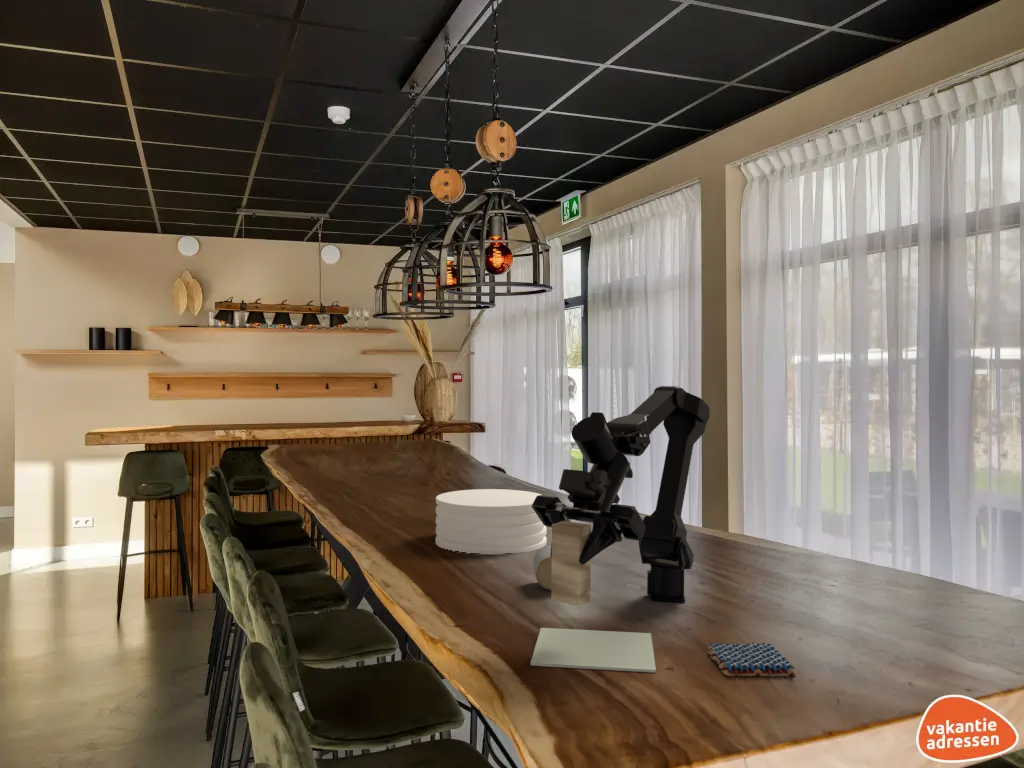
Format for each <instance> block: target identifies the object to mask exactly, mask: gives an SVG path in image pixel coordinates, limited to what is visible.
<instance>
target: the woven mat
mask: <svg viewBox="0 0 1024 768" xmlns="http://www.w3.org/2000/svg"><path fill="white" fill-rule="evenodd" d="M707 648H708V650H709V651H706V652H707V653H706V654H709V655H710V658H711V659H712V660H713V661H714V662H716V663H717V665H718V667H719V669H720V670H721V673H723V675H725V676H728V677H729V676H732V677H734V676H735V677H738V676H740V677H741V676H742V677H745V676H747V677H753V676H754V677H755V676H757V677H759V676H760V677H765V676H766V677H767V676H768V677H774V676H775V677H777V676H778V677H779V676H780V677H781V676H782V677H784V676H785V677H787V676H789V677H793V676H796V675H797V672H796V671H795V670H794V669H795V666H794V665H793V662H790V661H788V660H789V659H788V658H786V656H785V655H783V654H782V651H780V650H778V648H777V647H775V645H772V644H771V643H767V644H766V643H765V642H761V643H756V644H755V642H751V643H746V644H745V643H744V642H741V643H736V644H734V642H731V643H726V644H725V643H724V642H720V643H715V644H714V643H713V642H710V646H708V647H707Z"/></svg>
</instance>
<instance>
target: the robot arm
mask: <svg viewBox="0 0 1024 768" xmlns="http://www.w3.org/2000/svg"><path fill="white" fill-rule="evenodd" d="M710 415H711V413H710V407H709V405H708V404H707V403H706V401H704V399H702V398H701V397H699V396H697V395H694V394H692V393H689V392H687V391H686V390H685V389H683V388H682V387H680V386H678V385H677V386H676V385H675V386H674V385H673V386H672V385H670V386H669V385H660V386H658V387H655V388H654V391H653V393H652V394H651V395H650V396H649V397H648V398H647V399H645V401H643V402H642V403H641V404H640V405H639V406H638V407H636V408H635V409H634V410H633V411H632V412H631V413H629V414H627V415H622V416H619V417H615V418H614V419H611V420H609V421H608V422H607V419H606V417H605V415H604V413H603V412H598V411H596V412H595V411H594V412H593V411H592V412H591V414H590V416H587V417H585V418H583V419H581V420H580V421H578V422H577V423H575V424H574V425H573V427H572V429H571V437H572V439H573V441H574V442H575V444H576V446H577V447H578V450H579V451H580V453H581V455H582V456H583V458H584V460H585V461H586V462H587V463H589V464H592V466H591V468H590V470H589V471H585V470H578V469H569V468H567V469H566V468H564V469H563V470H562V474H561V478H560V482H559V485H558V489H559V490H560V491H564V492H565V493H567V494H568V496H567V500H568V501H569V502H570V503H572V506H570V505H566V504H565V503H563V501H561V499H560V498H559V496H556V495H555V496H552V495H546V494H542V495H539V496H537V497H536V498H535V500H534V502H533V504H532V506H531V507H532V508H533V510H534V511H535V513H536V514H537V516H538V517H539V519H540V520H541V522H542V523H543V524H544V525H545V526H546V528H552V524H555V523H559V522H562V521H568V522H572V520H574V521H577V522H582V523H588V524H592V528H591V534H590V536H589V538H588V540H587V542H586V544H585V546H584V549H583V551H582V553H581V556H580V559H579V562H580V563H581V564H582V565H584V564H585V563H587V562H588V561H589V560H590V559H591V560H592V559H593V558H595V557H596V556H597V555H599V553H601V552H602V551H604V550H606V549H607V548H609V547H610V546H612V545H614V544H615V543H621V542H622V541H623V537H624V539H625V540H630V541H631V540H632V541H637V542H638V548H639V553H640V558H641V563H642V564H647V565H649V568H650V569H647V571H646V593H647V596H649V599H650V601H656V602H659V601H661V602H662V601H663V602H677V603H678V602H679V603H680V602H681V603H684V602H686V596H685V570H691V569H692V567H693V563H694V558H695V555H694V553H693V550H692V549H691V546H690V545H689V543H688V541H687V535H688V531H687V528H686V526H685V523H684V521H683V517H682V513H683V506H684V500H685V494H686V489H687V483H688V477H689V472H690V466H691V461H692V455H693V449H694V445H695V443H696V442H698V440H699V439H700V438H701V437H702V436H703V434H704V433H705V430H706V426H707V422H708V421H709V419H710ZM662 422H663V423H662ZM661 423H662V424H663V427H664V429H665V432H666V435H667V437H668V442H667V448H666V452H665V458H664V463H663V470H662V474H661V478H660V483H659V491H658V495H657V500H656V505H655V506H656V507H655V510H654V511H653V512H652V513H651V514H650V515H645V516H644V518H643V519H642V517H641V516H640V514H639V512H638V510H637V507H636V506H634V505H627V504H626V505H625V504H619V502H620V500H621V498H620V496H619V494H618V493H619V491H620V489H621V486H622V485H623V482H624V480H625V478H626V479H632V478H633V477H634V472H633V470H632V468H631V462H629V460H628V458H627V456H633V457H641V456H642V455H643V454H644V453H645V451H646V450H647V448H648V447H649V445H650V444H651V438H650V435H651V434H652V432H653V431H654V430H655V429H656V428H657V427H659V425H660V424H661ZM622 535H623V536H622ZM550 545H551V553H550V556H551V558H552V541H551V544H550Z"/></svg>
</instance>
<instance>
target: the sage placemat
mask: <svg viewBox="0 0 1024 768" xmlns="http://www.w3.org/2000/svg"><path fill="white" fill-rule="evenodd" d="M529 666H535V667H536V666H537V667H551V668H567V669H584V670H585V669H586V670H601V671H604V670H606V671H619V672H620V671H621V672H637V673H639V672H640V673H653V674H655V673H657V668H656V661H655V653H654V645H653V637H652V632H636V631H635V632H632V631H631V632H630V631H629V632H628V631H614V630H613V631H612V630H611V631H610V630H595V629H594V630H592V629H591V630H590V629H576V628H575V629H572V628H554V627H553V628H552V627H540V629H539V633H538V636H537V640H536V643H535V646H534V650H533V653H532V657H531V660H530V665H529Z"/></svg>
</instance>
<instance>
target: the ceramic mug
mask: <svg viewBox="0 0 1024 768" xmlns="http://www.w3.org/2000/svg"><path fill="white" fill-rule="evenodd" d="M550 553H551V544H548V545H547V544H546V545H545V546H544V547H542V548H539V549H537V551H536V553H535V554H534V557H533V561H532V567H533V571H534V576H535V579H536V582H537V584H538V585H540V587H542V588H543V589H545V590H547V591H550V592H551V581H552V558H551V556H550Z"/></svg>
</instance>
